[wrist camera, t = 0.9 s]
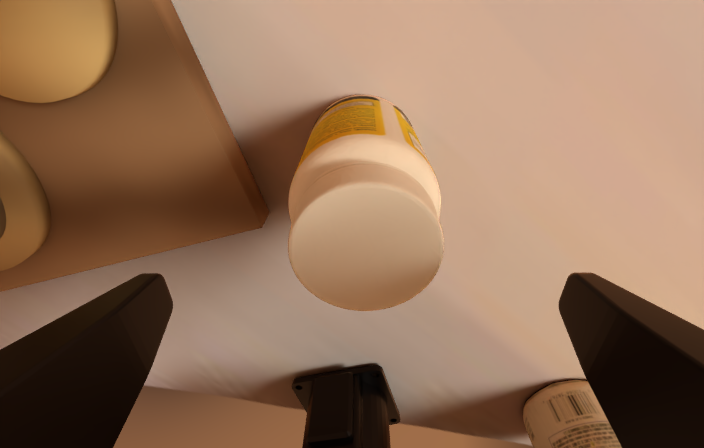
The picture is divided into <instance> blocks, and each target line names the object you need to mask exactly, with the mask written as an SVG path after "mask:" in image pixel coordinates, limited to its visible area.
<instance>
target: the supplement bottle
mask: <svg viewBox="0 0 704 448" xmlns="http://www.w3.org/2000/svg"><path fill="white" fill-rule="evenodd" d="M288 208H289V215H290V220H291V223H292V225H291V229H290V233H289V240H288V252H289V259H290V263H291V265H292V268H293V270H294V272H295V274H296V276H297V278H298V279H299V280H300V282H301V283H302V284H303V285H304V286H305V287H306V288H307V289H308V290H309V291H310V292H311V293H312V294H314V295H315V296H316V297H318V298H320V299H321V300H323V301H325V302H327V303H329V304H332V305H334V306H337V307H341V308H344V309H350V310H357V311H372V310H380V309H385V308H390V307H393V306H396V305H399V304H401V303H404V302H406V301H408V300H410V299H411V298H413V297H414V296H416V295H417V294H418V293H420V292H421V291H422V290H423V289H424V288H426V287H427V285H428V284H429V283H430V282H431V281H432V279H433V278H434V276H435V275H436V273H437V271H438V269H439V267H440V264H441V261H442V258H443V252H444V238H443V231H442V228H441V225H440V222H439V216H440V210H441V195H440V189H439V185H438V182H437V179H436V176H435V173H434V171H433V169H432V167H431V165H430V163H429V161H428V159H427V157H426V155H425V153H424V151H423V149H422V146H421V144H420V142H419V140H418V138H417V136H416V134H415V132H414V130H413V127H412V125H411V123H410V122H409V120H408V118H407V117H406V116H405V114H404V113H403V112H402V111H401V110H400V109H399V108H398V107H397V106H395V105H394V104H393V103H391V102H389V101H387V100H386V99H383V98H380V97H377V96H372V95H353V96H348V97H345V98H343V99H340V100H338V101H336V102H335V103H333V104H332V105H330V106H329V107H328V108H327V109H326V110H325V111H324V112H323V113H322V114H321V115H320V117H319V118H318V120H317V121H316V123H315V125H314V127H313V129H312V132H311V134H310V137H309V139H308V142H307V144H306V147H305V149H304V152H303V154H302V157H301V159H300V162H299V165H298V167H297V170H296V172H295V174H294V177H293V180H292V182H291V186H290V191H289V201H288Z"/></svg>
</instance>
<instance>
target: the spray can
mask: <svg viewBox="0 0 704 448" xmlns="http://www.w3.org/2000/svg"><path fill="white" fill-rule="evenodd" d="M523 420H524V425H525V427H526V430H527V433H528V435H529V438H530V440H531V443H532V445H533V447H534V448H622V447H621V445H620V443H619V441H618V439H617V437H616V435H615V433H614V431H613V429H612V427H611V425H610V423H609V422H608V420H607V418H606V416H605V414H604V412H603V410H602V408H601V406H600V404H599V402H598V400H597V398H596V396H595V395H594V393H593V391H592V389H591V387H590V385H589V383H588V381H581V380H571V381H565V382H557V383H553V384H551V385H549V386H547V387H546V388H544V389H542V390H540V391H538V392H537V393H535V394H534V395H533V396H532V397H531V398H529V399H528V400H527V401H526V403H525V406H524V408H523Z"/></svg>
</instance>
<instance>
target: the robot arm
mask: <svg viewBox="0 0 704 448" xmlns="http://www.w3.org/2000/svg"><path fill="white" fill-rule="evenodd" d="M172 309H173V301H172V298H171V295H170V293H169V290H168V287H167V285H166V282H165V279H164V277H163V276H162V275H160V274H140V275H138V276H136V277H134V278H132V279H130V280H129V281H127V282H125V283H123V284H121V285H119V286H117V287H116V288H114V289H112V290H110V291H108V292H106V293H105V294H103V295H101V296H99V297H97V298H95V299H93V300H92V301H90V302H88V303H86V304H84V305H82V306H80V307H79V308H77V309H75V310H73V311H71V312H69V313H68V314H66V315H64V316H62V317H60V318H58V319H56V320H55V321H53V322H51V323H49V324H47V325H45V326H43V327H42V328H40V329H38V330H36V331H34V332H32V333H31V334H29V335H27V336H25V337H23V338H21V339H19V340H18V341H16V342H14V343H12V344H10V345H8V346H6V347H5V348H3V349H1V350H0V448H113V446H114V444H115V442H116V440H117V438H118V436H119V434H120V432H121V430H122V428H123V426H124V424H125V422H126V420H127V418H128V416H129V414H130V412H131V409H132V408H133V406H134V404H135V401H136V399H137V397H138V395H139V393H140V391H141V389H142V387H143V385H144V383H145V381H146V379H147V376H148V374H149V372H150V369H151V367H152V365H153V362H154V359H155V356H156V354H157V351H158V348H159V346H160V343H161V340H162V338H163V335H164V332H165V329H166V327H167V324H168V321H169V319H170V316H171V313H172ZM559 311H560V314H561V317H562V319H563V322H564V324H565V327H566V329H567V332H568V334H569V337H570V339H571V342H572V344H573V347H574V350H575V352H576V355H577V357H578V360H579V362H580V365H581V367H582V369H583V372H584V374H585V376H586V379H587V381H588V383H589V385H590V387H591V389H592V391H593V393H594V395H595V396H596V398H597V400H598V402H599V404H600V406H601V408H602V410H603V412H604V414H605V416H606V418H607V420H608V422H609V423H610V425H611V427H612V429H613V431H614V433H615V435H616V437H617V439H618V441H619V443H620V445H621V447H622V448H704V330H703V329H701V328H699V327H697V326H695V325H693V324H691V323H690V322H688V321H686V320H684V319H682V318H680V317H678V316H676V315H674V314H672V313H670V312H668V311H666V310H664V309H662V308H660V307H658V306H656V305H654V304H652V303H651V302H649V301H647V300H645V299H643V298H641V297H639V296H637V295H635V294H633V293H631V292H629V291H627V290H625V289H623V288H621V287H619V286H617V285H615V284H613V283H611V282H610V281H608V280H606V279H604V278H602V277H600V276H598V275H596V274H594V273H572V274H570V275H569V276H568V278H567V281H566V284H565V286H564V289H563V292H562V294H561V297H560V300H559ZM292 389H293V391H294V392H295V394H296V396H297V397H298V399H299V400H300V402H301V404H302V405H303V407H304V409H305V410H306V412H307V418H306V425H305V432H304V440H303V447H302V448H390V434H389V425H392V424H397V423H399V422H400V414H399V411H398V409H397V406H396V403H395V401H394V398H393V395H392V393H391V390H390V387H389V385H388V382H387V379H386V377H385V374H384V371H383V369H382V367H380V366H377V365H373V366H367V367H361V368H355V369H349V370H343V371H337V372H331V373H325V374H319V375H313V376H307V377H301V378H296V379H294V380H293V384H292Z"/></svg>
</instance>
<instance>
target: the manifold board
mask: <svg viewBox="0 0 704 448" xmlns="http://www.w3.org/2000/svg"><path fill="white" fill-rule="evenodd" d="M268 214H269V210H268V208H267V206H266V204H265V202H264V200H263V197H262V195H261V193H260V191H259V189H258V187H257V184H256V182H255V180H254V178H253V176H252V174H251V172H250V169H249V167H248V165H247V163H246V161H245V159H244V157H243V154H242V152H241V150H240V148H239V146H238V144H237V141H236V139H235V137H234V135H233V133H232V131H231V129H230V126H229V124H228V122H227V120H226V118H225V116H224V114H223V111H222V109H221V107H220V105H219V103H218V101H217V98H216V96H215V94H214V92H213V90H212V88H211V86H210V83H209V81H208V79H207V77H206V75H205V73H204V71H203V68H202V66H201V64H200V62H199V60H198V58H197V55H196V53H195V51H194V49H193V47H192V45H191V43H190V40H189V38H188V36H187V34H186V32H185V30H184V28H183V25H182V23H181V21H180V19H179V17H178V15H177V12H176V10H175V8H174V6H173V4H172V2H171V0H0V292H1V291H5V290H9V289H13V288H17V287H21V286H25V285H29V284H34V283H38V282H42V281H46V280H50V279H54V278H58V277H62V276H66V275H70V274H74V273H78V272H82V271H87V270H91V269H95V268H99V267H103V266H107V265H111V264H115V263H119V262H123V261H127V260H131V259H135V258H139V257H144V256H148V255H152V254H156V253H160V252H164V251H168V250H172V249H176V248H180V247H184V246H188V245H192V244H197V243H201V242H205V241H209V240H213V239H217V238H221V237H225V236H229V235H233V234H237V233H241V232H245V231H249V230H254V229H258V228H262V227H263V225H264V222H265V220H266V218H267V216H268Z"/></svg>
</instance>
